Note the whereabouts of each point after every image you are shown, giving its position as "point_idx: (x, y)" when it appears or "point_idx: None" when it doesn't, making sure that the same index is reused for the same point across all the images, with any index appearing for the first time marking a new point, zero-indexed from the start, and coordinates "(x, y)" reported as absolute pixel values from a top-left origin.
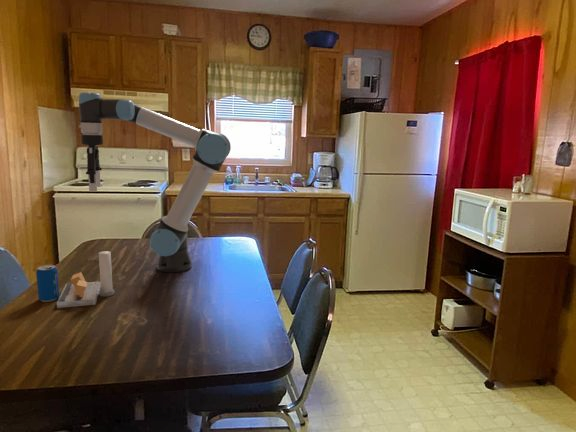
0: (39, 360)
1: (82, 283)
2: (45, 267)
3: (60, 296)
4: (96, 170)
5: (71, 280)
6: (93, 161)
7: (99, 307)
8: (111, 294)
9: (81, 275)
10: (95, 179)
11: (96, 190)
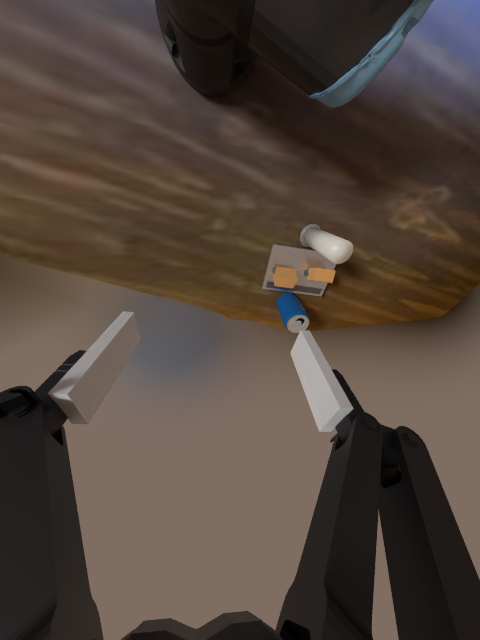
0: (421, 301)
1: (324, 275)
2: (296, 325)
3: (304, 293)
4: (58, 410)
5: (293, 287)
6: (466, 569)
7: None
8: (320, 229)
9: (284, 275)
10: (334, 380)
11: (310, 335)
